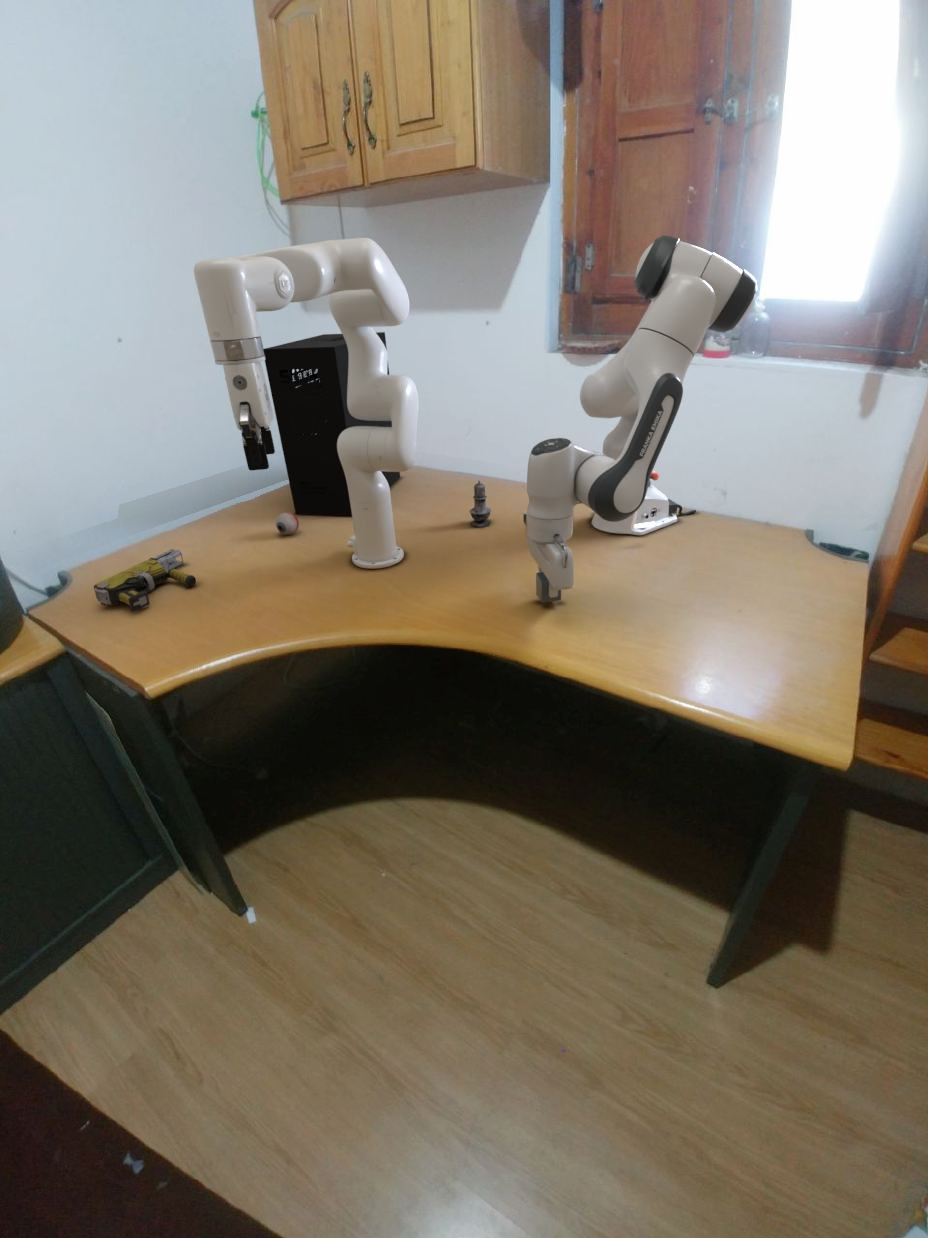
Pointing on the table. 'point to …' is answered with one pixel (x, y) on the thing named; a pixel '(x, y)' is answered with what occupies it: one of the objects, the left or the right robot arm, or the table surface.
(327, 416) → the black tall box
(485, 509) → the grey chess piece
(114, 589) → the toy gun
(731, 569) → the table surface
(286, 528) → the eyeball
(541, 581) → the cube
